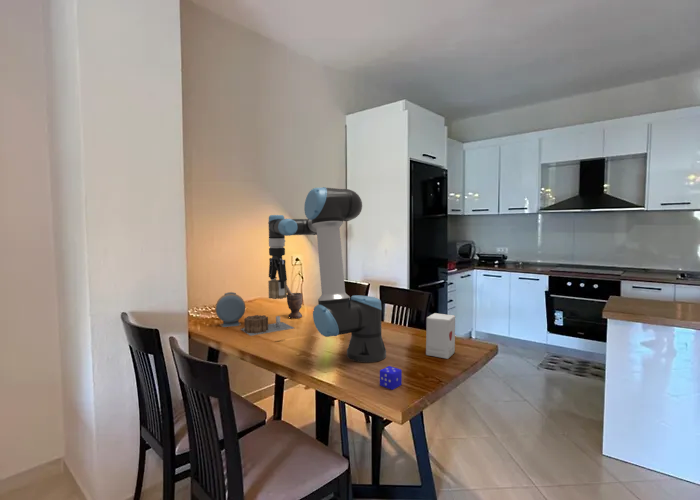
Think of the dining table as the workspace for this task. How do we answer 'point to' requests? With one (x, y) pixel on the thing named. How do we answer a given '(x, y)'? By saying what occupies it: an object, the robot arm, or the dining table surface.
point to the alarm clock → (230, 309)
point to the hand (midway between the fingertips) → (277, 293)
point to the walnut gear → (256, 324)
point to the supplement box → (440, 335)
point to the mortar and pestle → (294, 303)
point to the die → (390, 377)
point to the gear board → (273, 327)
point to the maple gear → (276, 289)
